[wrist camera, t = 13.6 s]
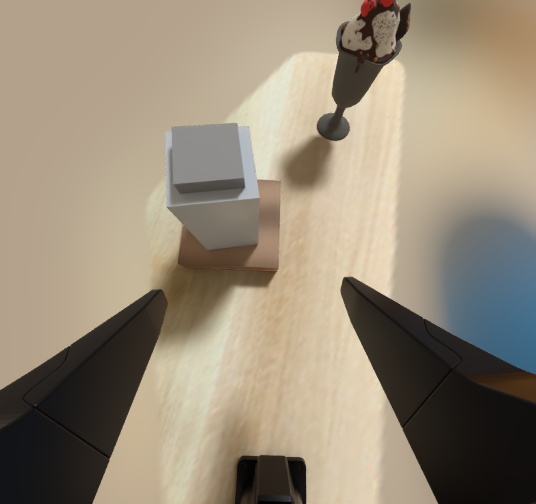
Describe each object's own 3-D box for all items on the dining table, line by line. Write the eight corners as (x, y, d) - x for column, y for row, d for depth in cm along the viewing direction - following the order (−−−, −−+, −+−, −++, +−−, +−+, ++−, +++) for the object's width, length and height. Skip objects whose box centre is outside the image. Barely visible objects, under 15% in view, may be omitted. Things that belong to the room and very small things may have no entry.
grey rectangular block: (258, 244, 22) (259, 188, 11) (207, 250, 21) (158, 198, 10) (252, 200, 23) (248, 112, 12) (204, 204, 22) (157, 117, 12)
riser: (276, 272, 24) (278, 268, 21) (188, 268, 24) (177, 263, 21) (278, 193, 27) (280, 180, 24) (199, 189, 26) (192, 175, 23)
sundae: (304, 134, 29) (348, -38, 14) (321, 104, 30) (377, -79, 16) (345, 152, 28) (434, -9, 13) (360, 120, 30) (456, -55, 15)
